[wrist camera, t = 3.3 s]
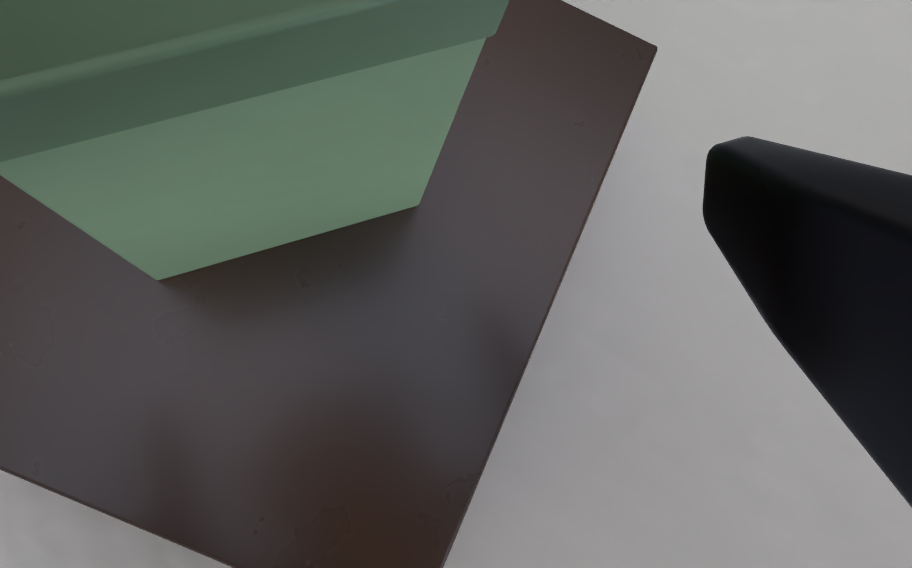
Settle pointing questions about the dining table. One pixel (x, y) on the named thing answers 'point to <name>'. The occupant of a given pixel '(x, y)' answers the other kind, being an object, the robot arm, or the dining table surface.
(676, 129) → the dining table surface
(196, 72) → the small box
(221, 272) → the storage box
